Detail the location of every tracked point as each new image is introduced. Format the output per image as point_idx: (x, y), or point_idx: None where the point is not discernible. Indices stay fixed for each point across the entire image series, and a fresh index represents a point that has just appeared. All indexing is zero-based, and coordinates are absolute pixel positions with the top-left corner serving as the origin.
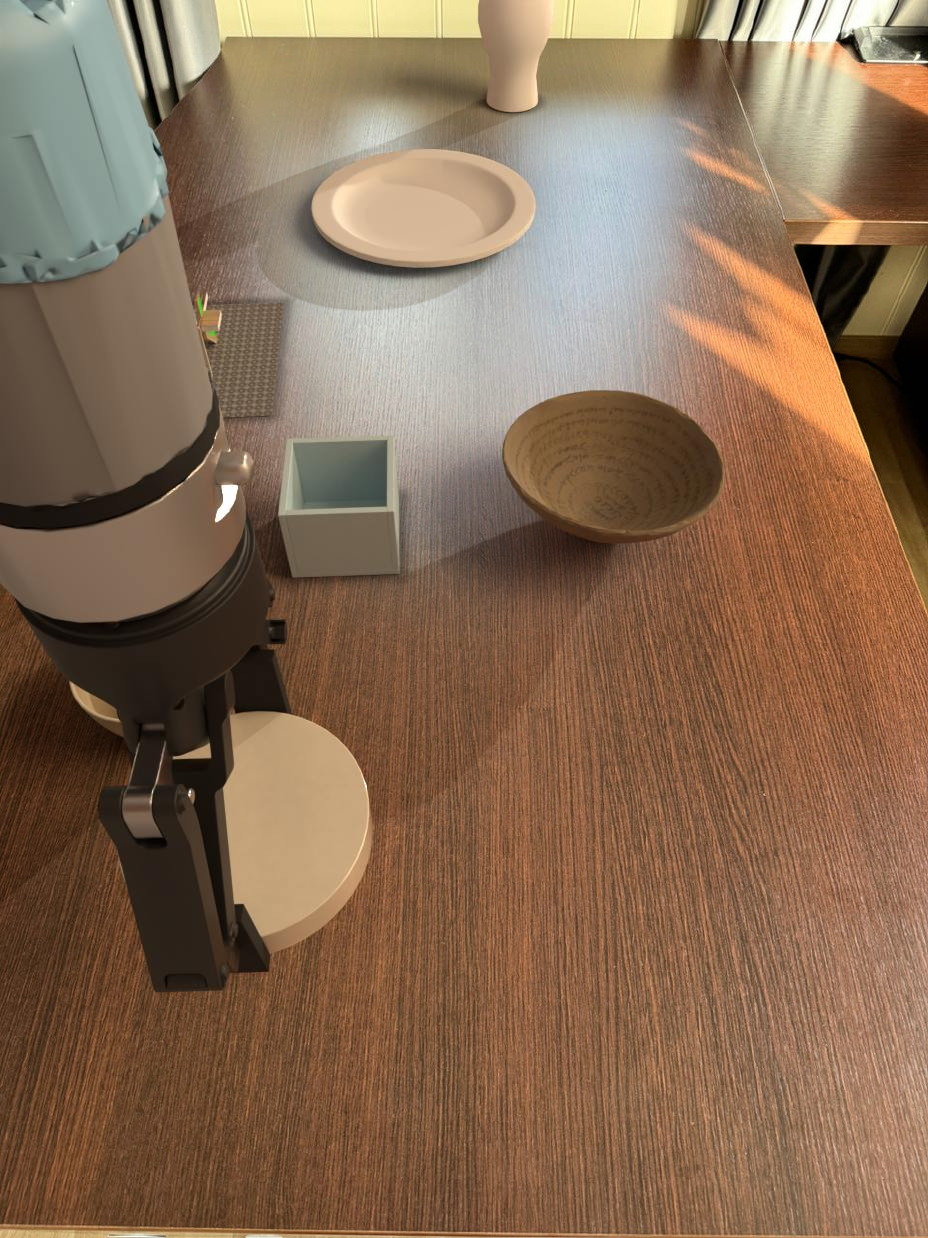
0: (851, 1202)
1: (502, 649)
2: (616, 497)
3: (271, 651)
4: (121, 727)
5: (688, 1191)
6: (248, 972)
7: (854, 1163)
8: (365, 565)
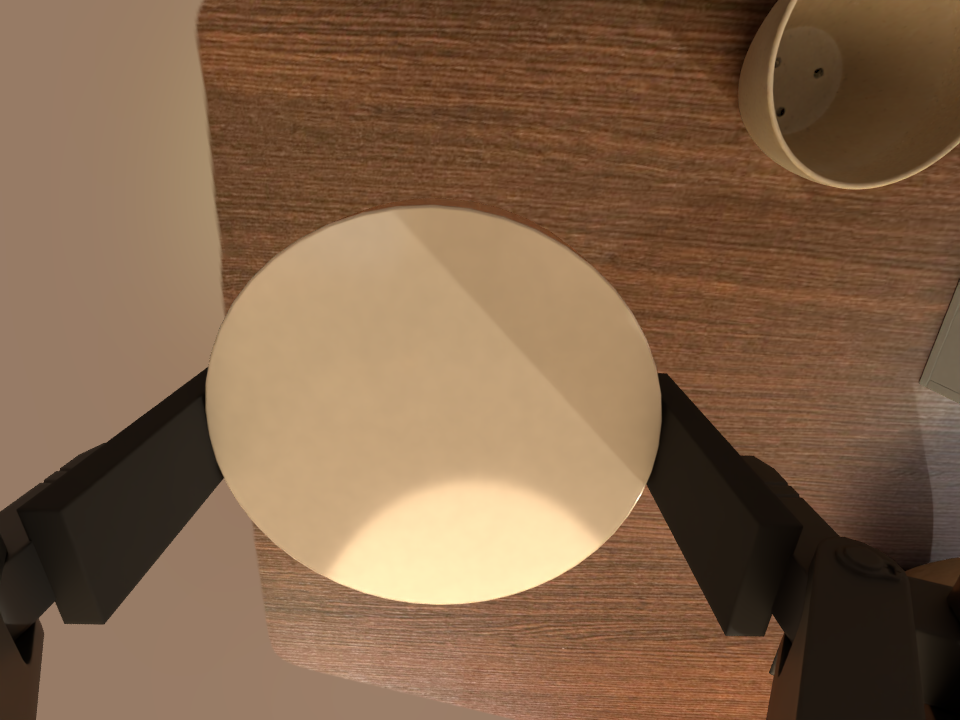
0: (282, 634)
1: None
2: None
3: (758, 632)
4: (767, 35)
5: (277, 556)
6: None
7: (304, 641)
8: (951, 352)
